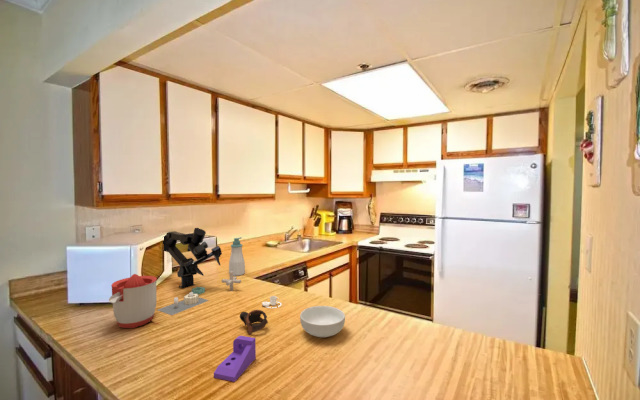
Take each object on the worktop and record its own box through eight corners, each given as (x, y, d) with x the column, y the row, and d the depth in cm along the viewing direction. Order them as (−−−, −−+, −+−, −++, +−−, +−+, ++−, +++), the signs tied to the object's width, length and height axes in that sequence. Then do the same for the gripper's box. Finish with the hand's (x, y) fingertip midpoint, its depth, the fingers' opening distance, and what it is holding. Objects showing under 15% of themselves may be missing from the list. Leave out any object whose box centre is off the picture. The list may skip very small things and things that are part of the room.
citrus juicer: (98, 329, 113) (96, 278, 113) (139, 311, 130) (138, 267, 129) (127, 336, 108) (125, 283, 107) (166, 317, 124) (165, 270, 124)
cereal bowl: (312, 348, 100) (312, 328, 99) (293, 328, 114) (293, 310, 114) (353, 337, 107) (353, 318, 107) (331, 319, 122) (331, 302, 122)
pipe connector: (243, 287, 161) (243, 269, 161) (237, 293, 151) (236, 274, 151) (226, 286, 162) (226, 269, 162) (218, 293, 152) (218, 274, 152)
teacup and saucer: (259, 308, 135) (259, 299, 134) (267, 301, 142) (267, 293, 142) (277, 310, 132) (277, 301, 132) (284, 303, 140) (284, 294, 140)
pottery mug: (271, 324, 119) (272, 311, 115) (260, 344, 111) (261, 331, 107) (244, 314, 121) (244, 301, 117) (232, 333, 113) (231, 320, 109)
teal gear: (189, 295, 150) (189, 289, 149) (199, 291, 155) (199, 286, 155) (197, 297, 146) (196, 291, 146) (207, 293, 152) (207, 288, 152)
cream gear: (180, 303, 136) (180, 296, 136) (192, 298, 142) (192, 292, 142) (189, 305, 133) (189, 299, 133) (201, 301, 139) (201, 294, 139)
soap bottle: (248, 273, 188) (247, 237, 187) (236, 277, 180) (235, 240, 179) (237, 270, 193) (237, 236, 193) (225, 274, 185) (225, 238, 184)
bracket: (236, 355, 96) (236, 335, 96) (255, 358, 94) (255, 338, 94) (213, 378, 85) (213, 355, 84) (234, 382, 83) (234, 359, 82)
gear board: (156, 312, 129) (156, 299, 129) (194, 298, 145) (194, 287, 145) (171, 318, 123) (171, 304, 123) (209, 302, 140) (209, 291, 139)
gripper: (176, 250, 145) (190, 271, 138) (211, 232, 155) (226, 251, 148) (181, 262, 153) (195, 283, 145) (214, 244, 163) (229, 263, 155)
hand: (211, 269), depth 148 cm, fingers open, 9 cm apart
